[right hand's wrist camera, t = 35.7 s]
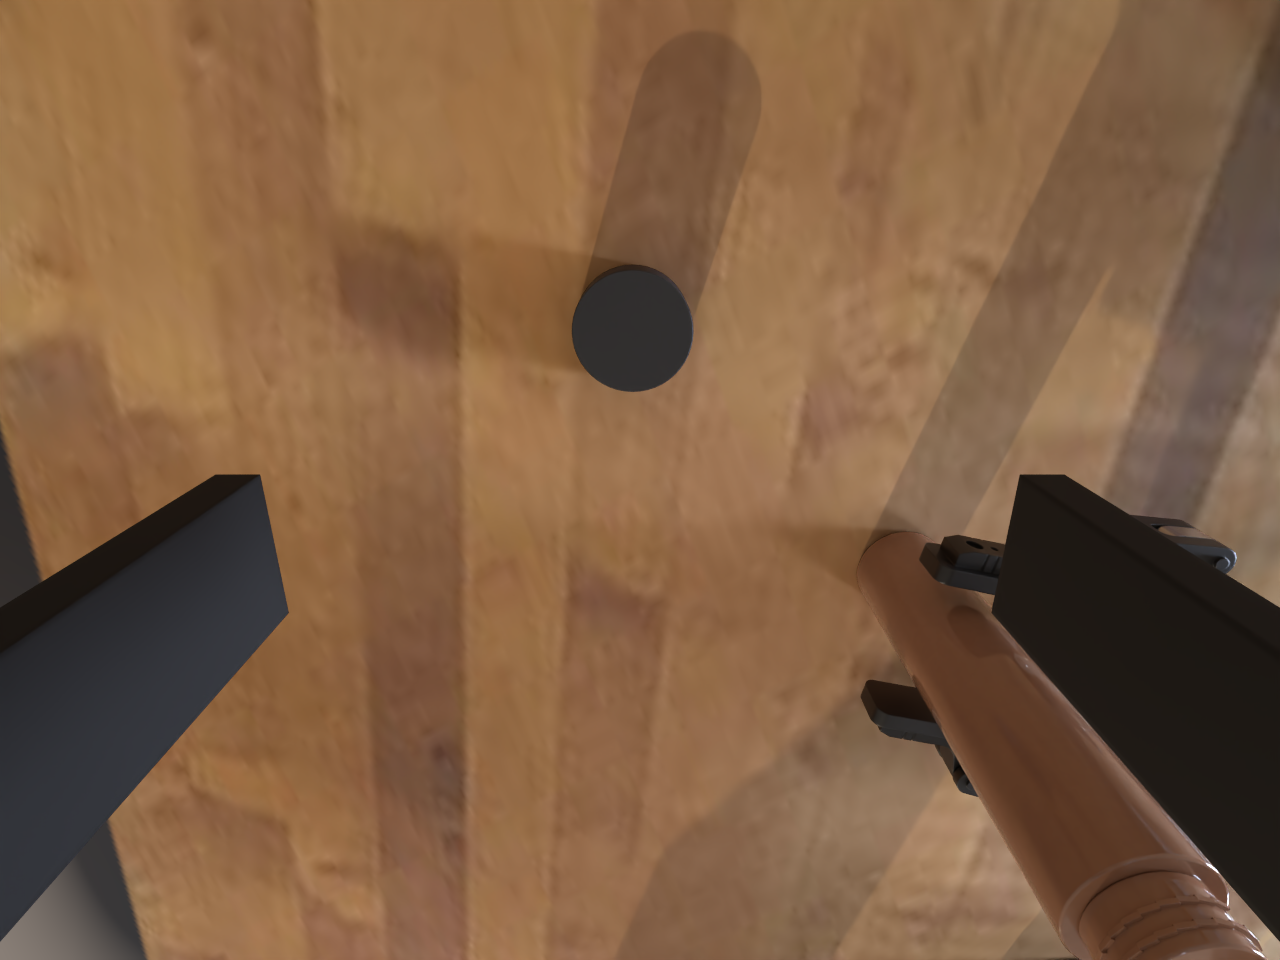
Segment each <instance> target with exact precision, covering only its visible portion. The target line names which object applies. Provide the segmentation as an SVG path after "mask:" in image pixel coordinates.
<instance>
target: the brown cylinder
mask: <svg viewBox="0 0 1280 960" xmlns="http://www.w3.org/2000/svg"><path fill="white" fill-rule="evenodd" d="M928 542H930V543H935V542H934V541H933V540H931V539H930V538H928V537H927V536H924V535H922V534H919V533H914V532H898V533H893V534H890V535H887V536H885V537H883V538H881V539H879V540H878V541H876V542H875V543H873V544H872V545H871V546H870V547H869V548H868V549H867V550H866V552H865V553H864V554H863V556H862V558H861V560H860V562H859V565H858V570H857V581H858V585H859V588H860V590H861V592H862V593H863V595H864V597H865V599H866V600H867V602H868V604H869V606H870V607H871V609H872V611H873V613H874V614H875V616H876V618H877V620H878V621H879V623H880V625H881V627H882V628H883V630H884V632H885V634H886V635H887V637H888V639H889V641H890V642H891V644H892V646H893V648H894V649H895V651H896V653H897V655H898V656H899V658H900V660H901V662H902V663H903V665H904V667H905V669H906V670H907V672H908V674H909V676H910V677H911V679H912V681H913V683H914V684H915V686H916V688H917V690H918V691H919V693H920V695H921V697H922V698H923V700H924V702H925V704H926V705H927V707H928V709H929V711H930V712H931V714H932V716H933V718H934V719H935V721H936V723H937V725H938V726H939V728H940V730H941V732H942V733H943V735H944V737H945V739H946V740H947V742H948V744H949V746H950V747H951V749H952V751H953V753H954V754H955V756H956V758H957V760H958V761H959V763H960V765H961V767H962V768H963V770H964V772H965V774H966V775H967V777H968V779H969V781H970V782H971V784H972V786H973V788H974V789H975V791H976V793H977V795H978V796H979V798H980V800H981V802H982V803H983V805H984V807H985V809H986V810H987V812H988V814H989V816H990V817H991V819H992V821H993V823H994V824H995V826H996V828H997V830H998V831H999V833H1000V835H1001V837H1002V838H1003V840H1004V842H1005V844H1006V845H1007V847H1008V849H1009V851H1010V852H1011V854H1012V856H1013V858H1014V859H1015V861H1016V863H1017V865H1018V866H1019V868H1020V870H1021V872H1022V873H1023V875H1024V877H1025V879H1026V881H1027V882H1028V884H1029V886H1030V888H1031V889H1032V891H1033V893H1034V895H1035V896H1036V898H1037V900H1038V902H1039V903H1040V905H1041V907H1042V909H1043V910H1044V912H1045V914H1046V916H1047V917H1048V919H1049V921H1050V923H1051V924H1052V926H1053V928H1054V930H1055V931H1056V933H1057V935H1058V937H1059V938H1060V940H1061V942H1062V943H1063V945H1064V946H1065V948H1066V949H1067V950H1068V951H1069V952H1070V953H1072V954H1073V955H1074V956H1075V957H1077V958H1078V959H1080V960H1268V959H1267V958H1266V957H1265V955H1264V954H1263V953H1262V948H1261V946H1260V944H1259V942H1258V941H1259V940H1258V939H1257V938H1256V936H1255V935H1254V934H1253V933H1252V932H1251V931H1250V930H1249V929H1248V928H1246V927H1245V926H1244V925H1241V924H1239V923H1237V921H1236V920H1235V919H1234V918H1233V917H1232V915H1231V914H1230V913H1229V912H1228V911H1229V910H1230V908H1229V907H1228V901H1229V893H1228V888H1227V885H1226V882H1225V880H1224V878H1223V876H1222V875H1221V874H1220V873H1219V872H1218V871H1217V869H1216V868H1215V867H1214V866H1213V865H1212V864H1211V863H1210V862H1209V860H1208V859H1207V858H1206V857H1205V856H1204V855H1203V854H1202V852H1201V851H1200V850H1199V849H1198V848H1197V847H1196V846H1195V844H1194V843H1193V842H1192V841H1191V840H1190V839H1189V838H1188V836H1187V835H1186V834H1185V833H1184V832H1183V831H1182V830H1181V828H1180V827H1179V826H1178V825H1177V824H1176V823H1175V822H1174V820H1173V819H1172V818H1171V817H1170V816H1169V815H1168V814H1167V813H1166V811H1165V810H1164V809H1163V808H1162V807H1161V806H1160V805H1159V803H1158V802H1157V801H1156V800H1155V799H1154V798H1153V797H1152V795H1151V794H1150V793H1149V792H1148V791H1147V790H1146V789H1145V787H1144V786H1143V785H1142V784H1141V783H1140V782H1139V781H1138V779H1137V778H1136V777H1135V776H1134V775H1133V774H1132V773H1131V771H1130V770H1129V769H1128V768H1127V767H1126V766H1125V765H1124V764H1123V762H1122V761H1121V760H1120V759H1119V758H1118V757H1117V756H1116V754H1115V753H1114V752H1113V751H1112V750H1111V749H1110V748H1109V746H1108V745H1107V744H1106V743H1105V742H1104V741H1103V740H1102V738H1101V737H1100V736H1099V735H1098V734H1097V733H1096V732H1095V730H1094V729H1093V728H1092V727H1091V726H1090V725H1089V724H1088V722H1087V721H1086V720H1085V719H1084V718H1083V717H1082V716H1081V715H1080V713H1079V712H1078V711H1077V710H1076V709H1075V708H1074V707H1073V705H1072V704H1071V703H1070V702H1069V701H1068V700H1067V699H1066V697H1065V696H1064V695H1063V694H1062V693H1061V692H1060V691H1059V689H1058V688H1057V687H1056V686H1055V685H1054V684H1053V683H1052V681H1051V680H1050V679H1049V678H1048V677H1047V676H1046V675H1045V673H1044V672H1043V671H1042V670H1041V669H1040V668H1039V667H1038V666H1037V664H1036V663H1035V662H1034V661H1033V660H1032V659H1031V658H1030V656H1029V655H1028V654H1027V653H1026V652H1025V651H1024V650H1023V648H1022V647H1021V646H1020V645H1019V644H1018V643H1017V642H1016V640H1015V639H1014V638H1013V637H1012V636H1011V635H1010V634H1009V632H1008V631H1007V630H1006V629H1005V628H1004V627H1003V626H1002V625H1001V623H1000V622H999V621H998V620H997V619H996V618H995V617H994V615H993V614H992V613H991V612H992V608H991V607H990V606H989V604H988V603H987V602H986V601H985V600H984V599H983V598H982V596H981V595H980V594H979V593H978V592H977V591H972V590H967V589H962V588H957V587H952V586H947V585H944V584H942V583H940V582H938V581H936V580H935V579H934V578H933V577H932V576H931V575H930V574H929V572H928V571H927V570H926V569H925V567H924V566H923V565H922V563H921V562H920V561H919V558H920V555H921V553H922V551H923V548H924V546H925V544H926V543H928Z"/></svg>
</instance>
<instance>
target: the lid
mask: <svg viewBox="0 0 1280 960" xmlns="http://www.w3.org/2000/svg"><path fill="white" fill-rule="evenodd" d="M572 339H573V344H574V348H575V351H576V354H577V356H578V358H579V360H580V362H581V364H582V365H583V366H584V368H585V369H586V370H587V371H588V372H589V374H590V375H591V376H593V377H594V378H595V379H596V380H598V381H599V382H601V383H602V384H604V385H606V386H608V387H610V388H613V389H616V390H621V391H628V392H638V391H645V390H649V389H652V388H655V387H657V386H659V385H661V384H663V383H665V382H666V381H668V380H669V379H670V378H672V377H673V376H674V375H675V374H676V373H677V372H678V371H679V370H680V368H681V367H682V365H683V364H684V363H685V361H686V359H687V357H688V355H689V352H690V349H691V345H692V341H693V322H692V316H691V313H690V310H689V307H688V305H687V303H686V301H685V299H684V297H683V295H682V293H681V291H680V290H679V288H678V287H677V286H676V285H675V283H674V282H673V281H672V280H670V279H669V278H668V277H667V276H665V275H664V274H663V273H661V272H659V271H657V270H655V269H652V268H650V267H646V266H641V265H624V266H619V267H616V268H613V269H610V270H608V271H606V272H604V273H603V274H601V275H600V276H598V277H597V278H596V279H595V280H594V281H593V282H591V284H590V285H589V286H588V287H587V289H586V290H585V292H584V293H583V295H582V297H581V299H580V301H579V303H578V305H577V307H576V310H575V313H574V317H573V323H572Z"/></svg>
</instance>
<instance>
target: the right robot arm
mask: <svg viewBox="0 0 1280 960" xmlns="http://www.w3.org/2000/svg"><path fill="white" fill-rule="evenodd" d="M288 613H289V612H288V607H287V602H286V597H285V593H284V588H283V583H282V578H281V573H280V568H279V564H278V559H277V554H276V549H275V544H274V539H273V535H272V530H271V525H270V520H269V515H268V511H267V506H266V501H265V496H264V491H263V486H262V482H261V477H260V475H214V476H213V477H211V478H209V479H208V480H206V481H205V482H203V483H201V484H200V485H198V486H196V487H195V488H193V489H192V490H190V491H188V492H187V493H185V494H184V495H182V496H180V497H179V498H177V499H175V500H174V501H172V502H171V503H169V504H167V505H166V506H164V507H162V508H161V509H159V510H158V511H156V512H154V513H153V514H151V515H150V516H148V517H146V518H145V519H143V520H141V521H140V522H138V523H137V524H135V525H133V526H132V527H130V528H128V529H127V530H125V531H124V532H122V533H120V534H119V535H117V536H116V537H114V538H112V539H111V540H109V541H107V542H106V543H104V544H103V545H101V546H99V547H98V548H96V549H94V550H93V551H91V552H90V553H88V554H86V555H85V556H83V557H82V558H80V559H78V560H77V561H75V562H73V563H72V564H70V565H69V566H67V567H65V568H64V569H62V570H60V571H59V572H57V573H56V574H54V575H52V576H51V577H49V578H48V579H46V580H44V581H43V582H41V583H39V584H38V585H36V586H35V587H33V588H31V589H30V590H28V591H26V592H25V593H23V594H22V595H20V596H18V597H17V598H15V599H14V600H12V601H10V602H9V603H7V604H5V605H4V606H2V607H1V608H0V941H1V940H2V939H3V938H4V937H5V936H6V934H7V933H8V932H9V931H10V930H11V929H12V928H13V926H14V925H15V924H16V923H17V922H18V921H19V920H20V918H21V917H22V916H23V915H24V914H25V913H26V912H27V911H28V909H29V908H30V907H31V906H32V905H33V904H34V903H35V901H36V900H37V899H38V898H39V897H40V896H41V895H42V893H43V892H44V891H45V890H46V889H47V888H48V887H49V885H50V884H51V883H52V882H53V881H54V880H55V879H56V877H57V876H58V875H59V874H60V873H61V872H62V871H63V869H64V868H65V867H66V866H67V865H68V864H69V863H70V861H71V860H72V859H73V858H74V857H75V856H76V855H77V854H78V852H79V851H80V850H81V849H82V848H83V847H84V846H85V844H86V843H87V842H88V841H89V840H90V839H91V838H92V836H93V835H94V834H95V833H96V832H97V831H98V830H99V828H100V827H101V826H102V825H103V824H104V823H105V822H106V820H107V819H108V818H109V817H110V816H111V815H112V814H113V813H114V811H115V810H116V809H117V808H118V807H119V806H120V805H121V803H122V802H123V801H124V800H125V799H126V798H127V797H128V795H129V794H130V793H131V792H132V791H133V790H134V789H135V787H136V786H137V785H138V784H139V783H140V782H141V781H142V779H143V778H144V777H145V776H146V775H147V774H148V773H149V771H150V770H151V769H152V768H153V767H154V766H155V765H156V764H157V762H158V761H159V760H160V759H161V758H162V757H163V756H164V754H165V753H166V752H167V751H168V750H169V749H170V748H171V746H172V745H173V744H174V743H175V742H176V741H177V740H178V738H179V737H180V736H181V735H182V734H183V733H184V732H185V730H186V729H187V728H188V727H189V726H190V725H191V724H192V722H193V721H194V720H195V719H196V718H197V717H198V716H199V715H200V713H201V712H202V711H203V710H204V709H205V708H206V707H207V705H208V704H209V703H210V702H211V701H212V700H213V699H214V697H215V696H216V695H217V694H218V693H219V692H220V691H221V689H222V688H223V687H224V686H225V685H226V684H227V683H228V681H229V680H230V679H231V678H232V677H233V676H234V675H235V673H236V672H237V671H238V670H239V669H240V668H241V667H242V666H243V664H244V663H245V662H246V661H247V660H248V659H249V658H250V656H251V655H252V654H253V653H254V652H255V651H256V650H257V648H258V647H259V646H260V645H261V644H262V643H263V642H264V640H265V639H266V638H267V637H268V636H269V635H270V634H271V632H272V631H273V630H274V629H275V628H276V627H277V626H278V624H279V623H280V622H281V621H282V620H283V619H284V618H285V617H286V615H287V614H288ZM991 613H992V614H993V615H994V617H995V618H996V619H997V620H998V621H999V622H1000V623H1001V625H1002V626H1003V627H1004V628H1005V629H1006V630H1007V631H1008V632H1009V634H1010V635H1011V636H1012V637H1013V638H1014V639H1015V640H1016V642H1017V643H1018V644H1019V645H1020V646H1021V647H1022V648H1023V650H1024V651H1025V652H1026V653H1027V654H1028V655H1029V656H1030V658H1031V659H1032V660H1033V661H1034V662H1035V663H1036V664H1037V666H1038V667H1039V668H1040V669H1041V670H1042V671H1043V672H1044V673H1045V675H1046V676H1047V677H1048V678H1049V679H1050V680H1051V681H1052V683H1053V684H1054V685H1055V686H1056V687H1057V688H1058V689H1059V691H1060V692H1061V693H1062V694H1063V695H1064V696H1065V697H1066V699H1067V700H1068V701H1069V702H1070V703H1071V704H1072V705H1073V707H1074V708H1075V709H1076V710H1077V711H1078V712H1079V713H1080V715H1081V716H1082V717H1083V718H1084V719H1085V720H1086V721H1087V722H1088V724H1089V725H1090V726H1091V727H1092V728H1093V729H1094V730H1095V732H1096V733H1097V734H1098V735H1099V736H1100V737H1101V738H1102V740H1103V741H1104V742H1105V743H1106V744H1107V745H1108V746H1109V748H1110V749H1111V750H1112V751H1113V752H1114V753H1115V754H1116V756H1117V757H1118V758H1119V759H1120V760H1121V761H1122V762H1123V764H1124V765H1125V766H1126V767H1127V768H1128V769H1129V770H1130V771H1131V773H1132V774H1133V775H1134V776H1135V777H1136V778H1137V779H1138V781H1139V782H1140V783H1141V784H1142V785H1143V786H1144V787H1145V789H1146V790H1147V791H1148V792H1149V793H1150V794H1151V795H1152V797H1153V798H1154V799H1155V800H1156V801H1157V802H1158V803H1159V805H1160V806H1161V807H1162V808H1163V809H1164V810H1165V811H1166V813H1167V814H1168V815H1169V816H1170V817H1171V818H1172V819H1173V820H1174V822H1175V823H1176V824H1177V825H1178V826H1179V827H1180V828H1181V830H1182V831H1183V832H1184V833H1185V834H1186V835H1187V836H1188V838H1189V839H1190V840H1191V841H1192V842H1193V843H1194V844H1195V846H1196V847H1197V848H1198V849H1199V850H1200V851H1201V852H1202V854H1203V855H1204V856H1205V857H1206V858H1207V859H1208V860H1209V862H1210V863H1211V864H1212V865H1213V866H1214V867H1215V868H1216V869H1217V871H1218V872H1219V873H1220V874H1221V875H1222V876H1223V877H1224V879H1225V880H1226V881H1227V882H1228V883H1229V884H1230V885H1231V887H1232V888H1233V889H1234V890H1235V891H1236V892H1237V893H1238V895H1239V896H1240V897H1241V898H1242V899H1243V900H1244V901H1245V903H1246V904H1247V905H1248V906H1249V907H1250V908H1251V909H1252V911H1253V912H1254V913H1255V914H1256V915H1257V916H1258V917H1259V918H1260V920H1261V921H1262V922H1263V923H1264V924H1265V925H1266V926H1267V928H1268V929H1269V930H1270V931H1271V932H1272V933H1273V934H1274V936H1275V937H1276V938H1277V939H1278V940H1279V941H1280V608H1279V607H1278V606H1276V605H1275V604H1273V603H1271V602H1270V601H1268V600H1266V599H1265V598H1263V597H1262V596H1260V595H1258V594H1257V593H1255V592H1254V591H1252V590H1250V589H1249V588H1247V587H1245V586H1244V585H1242V584H1241V583H1239V582H1237V581H1236V580H1234V579H1232V578H1231V577H1229V576H1228V575H1226V574H1224V573H1223V572H1221V571H1220V570H1218V569H1216V568H1215V567H1213V566H1211V565H1210V564H1208V563H1207V562H1205V561H1203V560H1202V559H1200V558H1198V557H1197V556H1195V555H1194V554H1192V553H1190V552H1189V551H1187V550H1186V549H1184V548H1182V547H1181V546H1179V545H1177V544H1176V543H1174V542H1173V541H1171V540H1169V539H1168V538H1166V537H1164V536H1163V535H1161V534H1160V533H1158V532H1156V531H1155V530H1153V529H1152V528H1150V527H1148V526H1147V525H1145V524H1143V523H1142V522H1140V521H1139V520H1137V519H1135V518H1134V517H1132V516H1130V515H1129V514H1127V513H1126V512H1124V511H1122V510H1121V509H1119V508H1118V507H1116V506H1114V505H1113V504H1111V503H1109V502H1108V501H1106V500H1105V499H1103V498H1101V497H1100V496H1098V495H1096V494H1095V493H1093V492H1092V491H1090V490H1088V489H1087V488H1085V487H1084V486H1082V485H1080V484H1079V483H1077V482H1075V481H1074V480H1072V479H1071V478H1069V477H1067V476H1066V475H1020V477H1019V482H1018V486H1017V491H1016V496H1015V501H1014V506H1013V511H1012V515H1011V520H1010V525H1009V530H1008V535H1007V539H1006V544H1005V549H1004V554H1003V559H1002V564H1001V568H1000V573H999V578H998V583H997V588H996V593H995V597H994V602H993V607H992V612H991Z"/></svg>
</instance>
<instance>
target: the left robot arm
mask: <svg viewBox="0 0 1280 960" xmlns="http://www.w3.org/2000/svg"><path fill="white" fill-rule="evenodd" d="M1130 516H1132V517H1134V518H1135V519H1137V520H1139V521H1140V522H1142V523H1143V524H1145V525H1147V526H1148V527H1150V528H1152V529H1153V530H1155V531H1156V532H1158V533H1160V534H1161V535H1163V536H1164V537H1166V538H1168V539H1169V540H1171V541H1173V542H1174V543H1176V544H1177V545H1179V546H1181V547H1182V548H1184V549H1186V550H1187V551H1189V552H1190V553H1192V554H1194V555H1195V556H1197V557H1198V558H1200V559H1202V560H1203V561H1205V562H1207V563H1208V564H1210V565H1211V566H1213V567H1215V568H1216V569H1218V570H1220V571H1221V572H1223V573H1224V574H1226V573H1228V572H1229V571H1230V570H1231V569H1232V568H1233V567H1234V565H1235V563H1236V559H1237V558H1236V554H1235V552H1234V551H1233V550H1231V549H1229V548H1228V547H1226V546H1224V545H1223V544H1221V543H1219V542H1218V541H1216V540H1214V539H1213V538H1211V537H1209V536H1208V535H1206V534H1204V533H1203V532H1201V531H1199V530H1198V529H1196V528H1194V527H1193V526H1191V525H1189V524H1188V523H1186V522H1184V521H1182V520H1176V519H1166V518H1156V517H1146V516H1135V515H1130ZM1004 549H1005V544H1000V543H995V542H990V541H985V540H980V539H976V538H971V537H966V536H961V535H955V536H948V537H944V539H943V541H942V544H936V543H930V542H928V543H926V544H925V546H924V548H923V551H922V553H921V555H920V558H919V561H920V562H921V563H922V565H923V566H924V567H925V569H926V570H927V571H928V572H929V574H930V575H931V576H932V577H933V578H934V579H935V580H936V581H938V582H940V583H942V584H944V585H947V586H952V587H957V588H962V589H967V590H972V591H977V592H982V593H987V594H992V595H995V593H996V588H997V583H998V578H999V573H1000V568H1001V564H1002V559H1003V554H1004ZM861 699H862V701H863V703H864V706H865V708H866V710H867V712H868V715H869V717H870V719H871V720H872V721H873V722H874V723H875V724H877V725H878V727H879V730H880V731H881V732H883V733H884V734H886V735H888V736H890V737H895V738H900V739H902V738H903V739H906V740H913V741H918V742H923V743H929V744H935V747H936V749H937V751H938V753H939V754H940V756H941V757H942V758H943V760H944V762H945V764H946V765H947V767H948V769H949V771H950V773H951V775H952V776H953V780H954V782H955V784H956V786H957V788H958V789H959V790H960V791H961V792H963V793H966V794H969V795H973V796H977V797H979V796H978V795H977V793H976V791H975V789H974V788H973V786H972V784H971V782H970V781H969V779H968V777H967V775H966V774H965V772H964V770H963V768H962V767H961V765H960V763H959V761H958V760H957V758H956V756H955V754H954V753H953V751H952V749H951V747H950V746H949V744H948V742H947V740H946V739H945V737H944V735H943V733H942V732H941V730H940V728H939V726H938V725H937V723H936V721H935V719H934V718H933V716H932V714H931V712H930V711H929V709H928V707H927V705H926V704H925V702H924V700H923V698H922V697H921V695H920V693H919V691H918V690H917V688H914V687H908V686H903V685H898V684H892V683H887V682H881V681H876V680H868V681H867V682H866V684H865V686H864V689H863V691H862V693H861Z"/></svg>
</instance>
